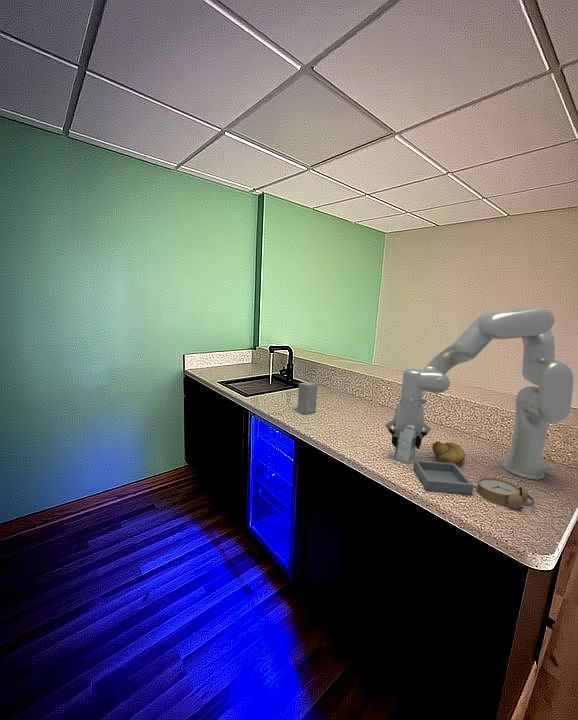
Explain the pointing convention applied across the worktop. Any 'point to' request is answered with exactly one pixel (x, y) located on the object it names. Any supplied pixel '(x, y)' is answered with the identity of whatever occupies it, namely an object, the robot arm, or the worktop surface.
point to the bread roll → (448, 453)
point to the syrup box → (406, 444)
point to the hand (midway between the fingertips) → (405, 446)
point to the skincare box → (307, 397)
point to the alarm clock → (503, 492)
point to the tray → (442, 477)
